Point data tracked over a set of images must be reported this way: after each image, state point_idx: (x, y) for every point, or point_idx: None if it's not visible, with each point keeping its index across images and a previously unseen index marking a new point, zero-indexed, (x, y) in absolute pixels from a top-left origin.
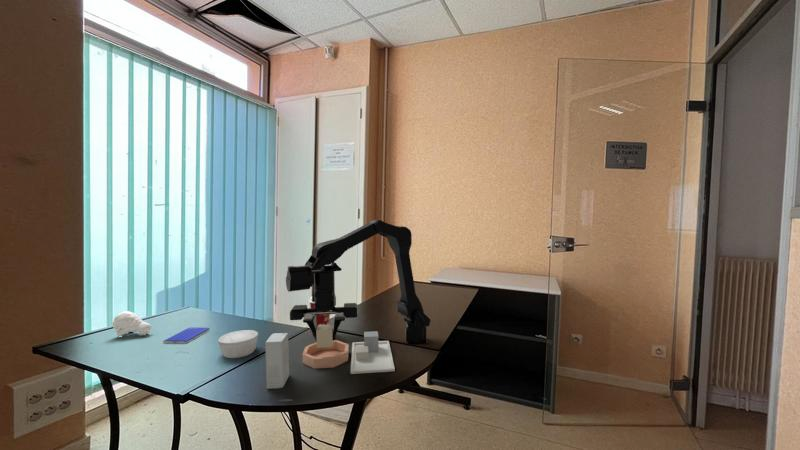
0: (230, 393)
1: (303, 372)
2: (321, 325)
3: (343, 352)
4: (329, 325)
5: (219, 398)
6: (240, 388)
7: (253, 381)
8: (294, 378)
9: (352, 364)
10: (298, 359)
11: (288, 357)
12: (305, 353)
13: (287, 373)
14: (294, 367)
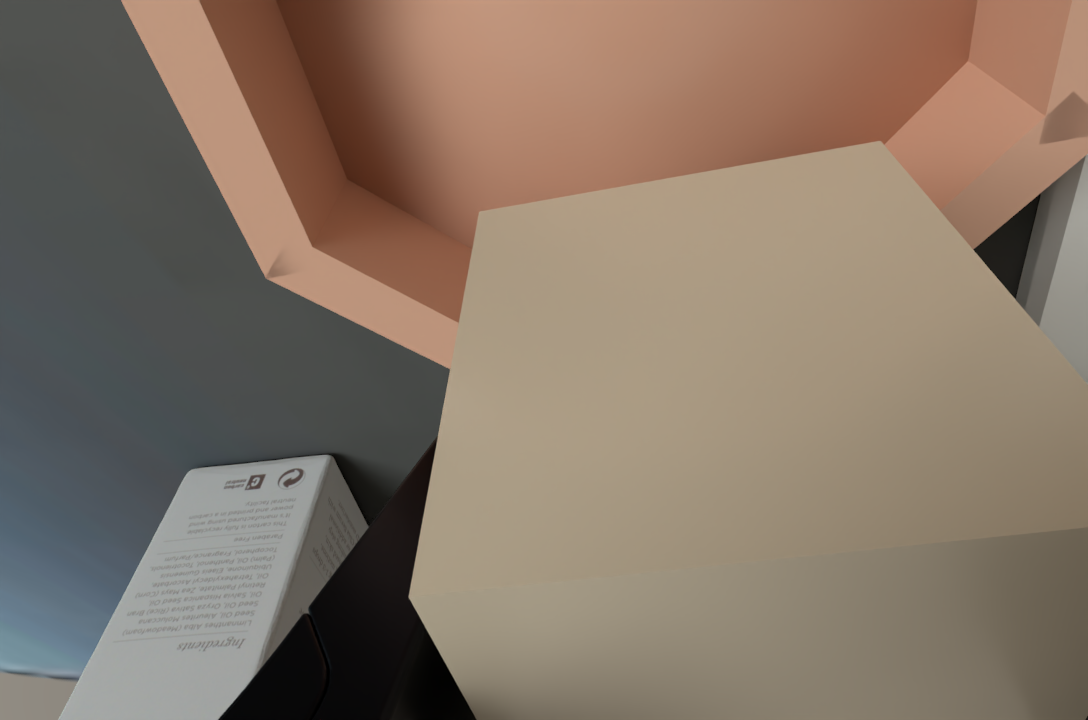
0: (64, 630)
1: (438, 375)
2: (576, 624)
3: (1013, 175)
4: (957, 624)
5: (53, 663)
6: (69, 590)
7: (69, 520)
8: (406, 470)
9: (1074, 280)
10: (138, 35)
11: (275, 645)
12: (304, 258)
13: (343, 546)
14: (258, 280)
